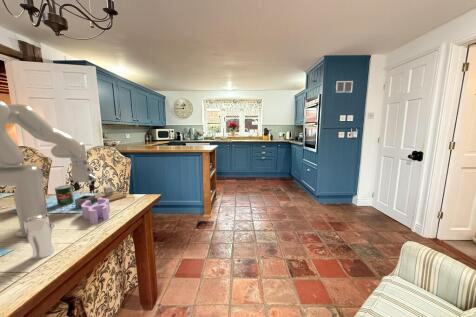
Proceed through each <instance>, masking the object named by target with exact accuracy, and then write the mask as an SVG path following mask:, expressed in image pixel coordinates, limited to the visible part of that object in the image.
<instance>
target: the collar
mask: <svg viewBox="0 0 476 317" xmlns="http://www.w3.org/2000/svg"><path fill="white" fill-rule="evenodd" d="M86 200H90V201H91V206H94V205H95V204H96V203H97V202H96V201H97V200H95V196H93V195H86V194H85V195H83V196H82V195H81V196H80V197H77V198H75V199H74V204H75V208H77V209H78V208H81V209H82V207H81V205H82V204H83V203H85V201H86Z"/></svg>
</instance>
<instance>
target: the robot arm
mask: <svg viewBox="0 0 476 317" xmlns="http://www.w3.org/2000/svg"><path fill="white" fill-rule="evenodd" d="M8 124H10V125H12V124H13V125H15V124H17V125H18V126H20V127H21V128H22V129H24V131H26V132H27V133H29V134H30V136H32V137H33V138H35V139H36V140H39V141H42V142H46V143H51V144H54V146H53V147H52V148H51V149H50V154H52V156H54V157H56V158H59V159H67V158H68V159H70V163H71V176H69V177H68V180H69V181H70V183H71V184H72V186H73V189H74V192H77V191H79V190H80V191H81V186H80V183H87V184H88V188H89V192H92V191H93V192H94V191H95V189H96V188H95V183H96V182H97V178H98V177H97V176H95V175H94V174H93V170H92V168H91V165H90V164H89V163H90V162H89V161H88V156H87V152H86V146H85V143H84V142H80V141H79V142H78V140H76V139H75V138H74V137H72V136H71V135H69V134H67V133H66V132H63V131H62V130H60V129H57V128H54V127H53V126H52V125H51V124H50V123H48V121H46V120H45V119H44V118H43V117H42V116H41V115H40V114H39V113H38V112H37V111H35V110H34V109H33V108H32V107H31V106H29V105H26V104H19V103H16V104H15V103H13V104H6V103H5V102H4V101H2V100H0V186H3V187H5V186H6V187H7V186H8V187H15V189H14V192H13V201H14V204H15V210H16V213H17V218H18V222H19V228H20V229H18V231H17V232H16V236H17V237H18V238H27V236H26V233H25V227H24V220H25V219H27V218H29V217H32V216H35V215H40V214H48V210H47V206H46V204H47V202H46V203H45V199H46V197H45V198H44V193H45V192H44V193H43V188H44V182H43V181H44V174H43V171H42V169H41V168H40V167H39V166H37V165H32V164H22V163H23V162H24V160H25V155H24V152H22V149H20V148H19V146H18V145H17V144H16V143H15V141H14V140H13V139H12V138H11V137H10V135H9V133H8V132H7V129H6V125H8ZM42 183H43V185H42ZM48 215H49V214H48ZM50 222H51V228H54V227H55V223H54V222H53V221H50Z"/></svg>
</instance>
